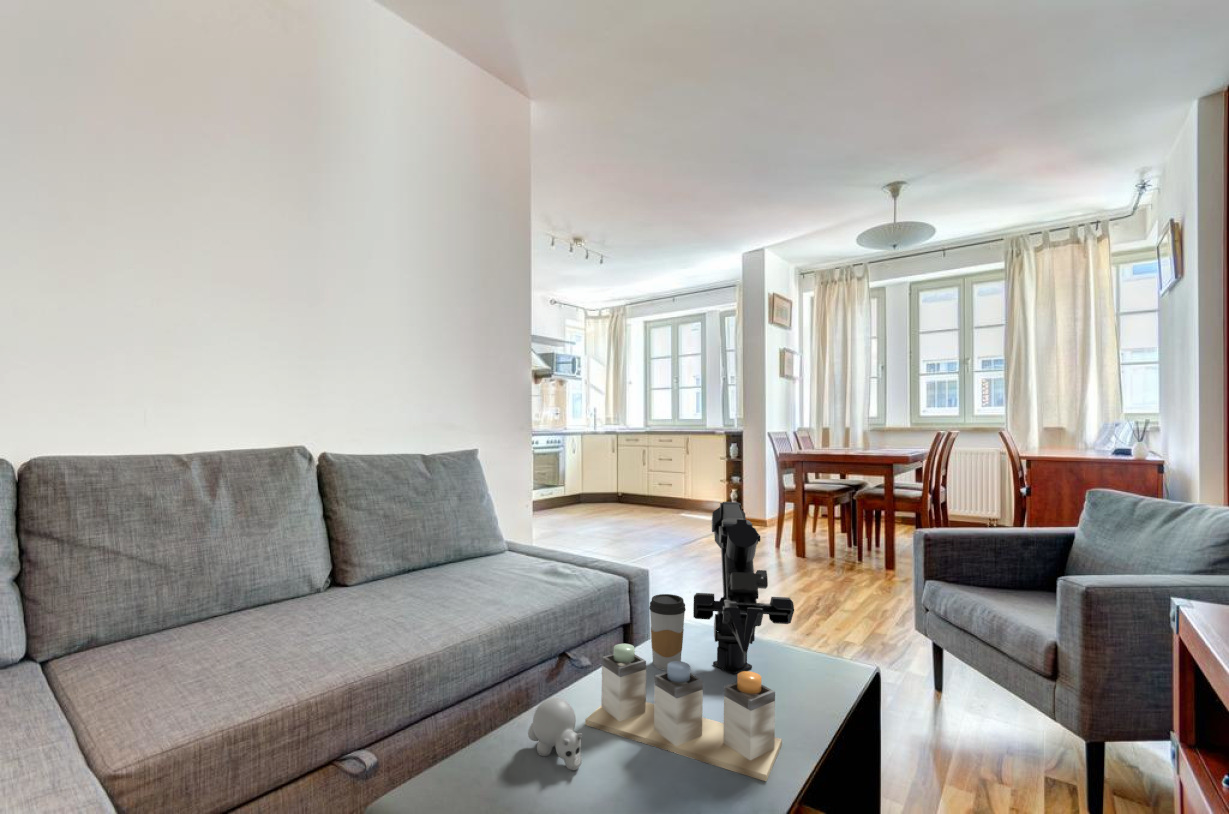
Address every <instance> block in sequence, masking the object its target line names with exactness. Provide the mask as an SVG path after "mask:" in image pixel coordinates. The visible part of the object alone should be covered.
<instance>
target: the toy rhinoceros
mask: <svg viewBox="0 0 1229 814" xmlns="http://www.w3.org/2000/svg"><path fill="white" fill-rule="evenodd" d="M575 728H576V713H575V710H574V708H573V706H572V705H571V704H570V703H569V702H568V701H567V700H565V699H563V698H561V697H550V698H547V699H545V700H543V701H542V702H541V703H540V704H539V705H538V706H537V708H536V710H535V711H534V714H533V718H532V723H531V724H530V726H529V728H528V731H527V734H528V735H527V737H528V738H529V740H530V741H533V742H537V743H536V744H537V745H536V752H537V754H538V755H539V756H541V757H548V756H549V755H550V754H551V753H552V752H553V751H552V750H553V747H555V752H556V754H557V756H559V758H560V759H562V760H563V761H564V765H565V766H566V768H567V769H568V770H569V771H576V770H578V769H579V767H581V765H582V759H583V758H582V754H581V752H582V751H581V749H582V740H581V739H582V737H583V733H582V732H580V733H577V732H575Z"/></svg>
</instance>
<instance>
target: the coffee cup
mask: <svg viewBox="0 0 1229 814" xmlns="http://www.w3.org/2000/svg"><path fill="white" fill-rule="evenodd" d="M649 610H650V611H649V613H650V615H649V616H650V639H651V640H650V641H651V651H652V653H651V654H652V663H653V666H654V667H655V668H657V669H659V670H662V671H667V665H668V663H670V662H673V661H681V662H682V650H683V641H684V631H685V629H684V624H685V614H686V613H685V612H686V604H685V602H684V598H683V597H682V596H679V595H676V594H671V593H670V594H669V593H661V594H655V595H653V596H652V597H651V600H650V602H649Z"/></svg>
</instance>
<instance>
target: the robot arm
mask: <svg viewBox="0 0 1229 814" xmlns="http://www.w3.org/2000/svg"><path fill="white" fill-rule="evenodd" d="M719 503H720V505H719V507H717V509H715V510H713V511H712V514H711V533H714V541H715V543H716V544H717V546H718V547H719V548H720V552H721V573H722V575H721V576H722V578H721V579H722V595H723V596H722V597H720V599H719V600H715V593H710V592H709V593H708V592H695V594H694V595H693V605H692V607H693V608H692V609H693V613H692V614H693V615H692V616H693V619H696V620H711V619H712V618H713V617H714V621H713V638H714V642H715V643H716V642H717V647H716V649H717V650H716V660H715V661H713V662H712V665H714V666H715V667H717V668H719V669H722V671H725V672H728V673H729V674H730V675H731V674H732V675H735V674H736V675H737V674H738V673H740V672H743V671H748V670H750V669H752V668H753V665H752V664H750V663H748V652H749V651H748V650H749V647H750V645H753V642H755V636H756V635H755V634H756V627H761V625H762V622H763V618H764V615H768V619H769V621H771V622H772V623H773V624H777V625H778V624H779V625H780V624H781V625H789V624H791V623H792V620H793V616H794V613H795V605H794V601H793V599H791V598H790V597H785V596H771V597H770V600H769V603H765V602H763V603H762V602H759V603H758V602H757V600H759V589H761V590H762V589H763V590H765V589H767V588H768V584H769V582H768V571H767V570H763V569H761V570H760V569H757V570H756V572H755V568H754V559H755V556H756V552H757V550H756V549H757V545H759V543H761V535H760V533H758V531H757V529H756V527H753V523H752V521H750V520H749V519H747V518H746V512H745V511H743V509H742V505H741V504H742V503H740V502H738V501H722V502H719ZM714 612H716V613H715V614H714Z"/></svg>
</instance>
